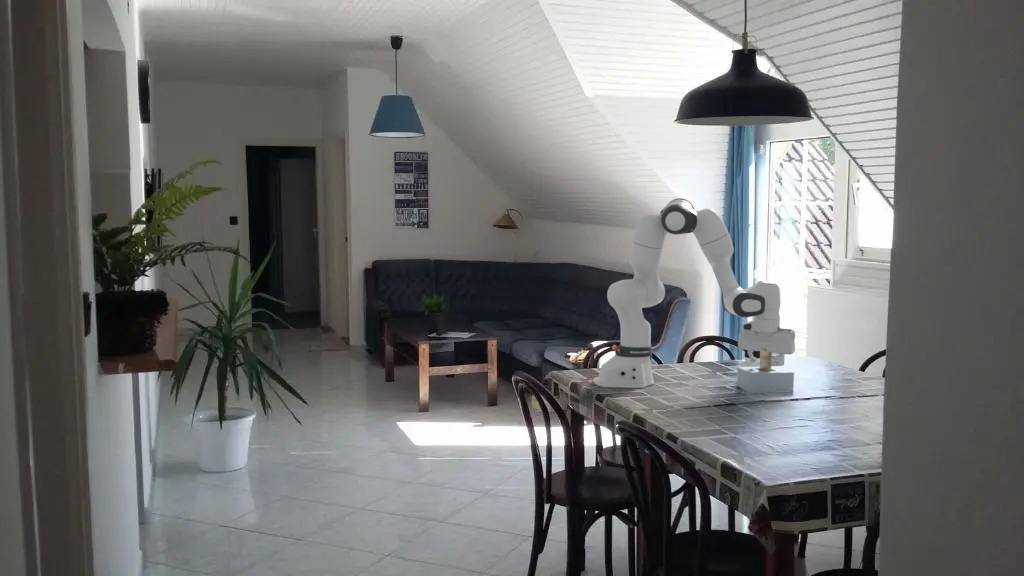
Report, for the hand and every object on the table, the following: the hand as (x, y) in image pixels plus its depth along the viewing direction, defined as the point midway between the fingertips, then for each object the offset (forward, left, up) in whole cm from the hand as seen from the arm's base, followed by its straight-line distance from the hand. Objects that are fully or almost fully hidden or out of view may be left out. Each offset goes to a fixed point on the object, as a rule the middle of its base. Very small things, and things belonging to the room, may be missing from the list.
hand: (765, 364), depth 318 cm
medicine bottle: (+2, +16, -9) cm, 19 cm away
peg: (0, 0, -8) cm, 8 cm away
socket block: (0, 0, -9) cm, 9 cm away
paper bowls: (+14, +32, -9) cm, 36 cm away
